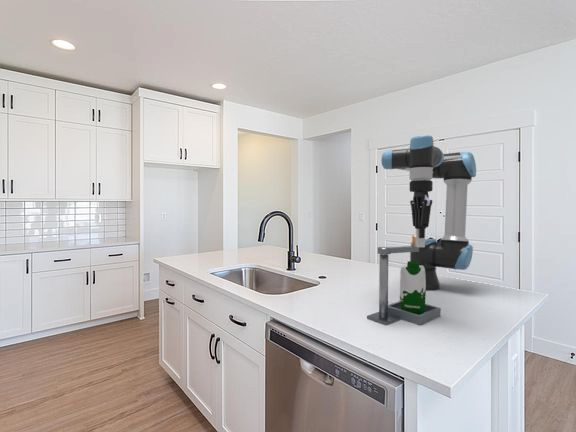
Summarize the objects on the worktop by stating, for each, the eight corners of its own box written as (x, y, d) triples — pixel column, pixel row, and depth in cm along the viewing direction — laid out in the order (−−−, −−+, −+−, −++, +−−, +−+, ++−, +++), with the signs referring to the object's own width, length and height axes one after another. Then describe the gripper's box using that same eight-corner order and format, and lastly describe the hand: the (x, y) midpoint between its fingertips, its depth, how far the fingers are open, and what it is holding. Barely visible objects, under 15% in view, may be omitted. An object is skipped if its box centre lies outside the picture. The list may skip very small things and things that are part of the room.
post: (367, 318, 114) (367, 254, 113) (380, 313, 119) (381, 252, 118) (386, 325, 108) (387, 257, 107) (399, 319, 113) (400, 255, 112)
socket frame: (384, 313, 119) (384, 305, 119) (405, 306, 128) (405, 298, 128) (419, 325, 108) (420, 316, 108) (440, 316, 117) (440, 307, 117)
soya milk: (399, 317, 115) (400, 262, 114) (399, 309, 124) (400, 258, 123) (426, 320, 112) (427, 264, 111) (424, 312, 121) (425, 259, 120)
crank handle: (382, 254, 110) (382, 237, 110) (375, 252, 114) (375, 236, 114) (422, 252, 115) (422, 235, 115) (414, 250, 119) (414, 234, 119)
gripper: (440, 178, 107) (439, 249, 107) (423, 181, 120) (422, 244, 120) (418, 178, 107) (417, 249, 107) (403, 181, 120) (402, 244, 120)
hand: (420, 247), depth 114 cm, fingers closed
